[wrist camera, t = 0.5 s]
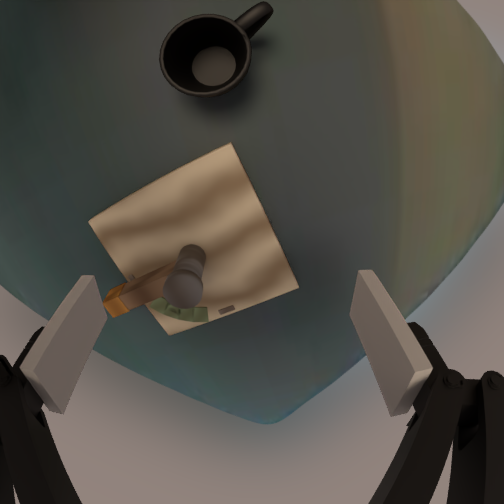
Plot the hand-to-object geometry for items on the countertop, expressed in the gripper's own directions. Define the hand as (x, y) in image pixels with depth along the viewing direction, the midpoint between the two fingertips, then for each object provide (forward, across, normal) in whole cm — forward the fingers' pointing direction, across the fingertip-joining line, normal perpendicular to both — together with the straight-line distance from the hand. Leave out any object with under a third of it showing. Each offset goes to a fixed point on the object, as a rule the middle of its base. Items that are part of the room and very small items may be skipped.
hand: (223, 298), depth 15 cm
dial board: (+25, -6, -10) cm, 28 cm away
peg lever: (+24, -11, -13) cm, 29 cm away
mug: (+25, -1, +15) cm, 30 cm away
